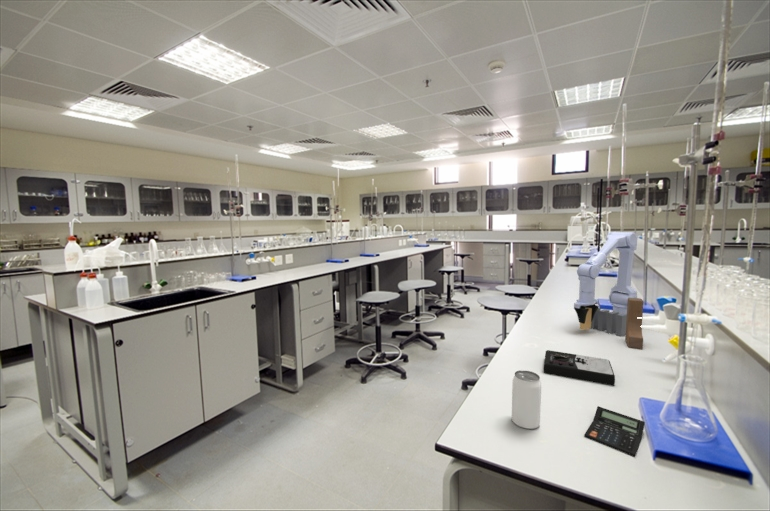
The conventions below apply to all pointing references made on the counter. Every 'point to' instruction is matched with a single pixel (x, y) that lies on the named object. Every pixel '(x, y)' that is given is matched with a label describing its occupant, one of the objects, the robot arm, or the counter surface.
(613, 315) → the slate domino
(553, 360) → the multimeter
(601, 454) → the counter surface
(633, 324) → the wooden block
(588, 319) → the ochre domino
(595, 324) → the slate domino
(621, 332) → the slate domino
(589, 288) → the robot arm
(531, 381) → the can
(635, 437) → the calculator
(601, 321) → the slate domino
